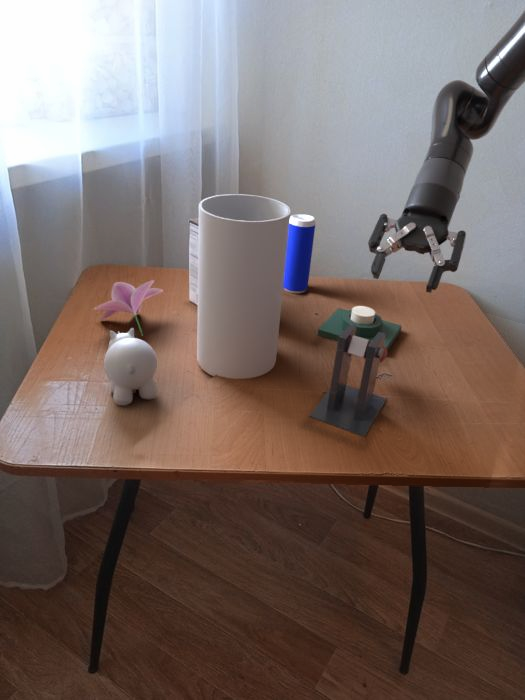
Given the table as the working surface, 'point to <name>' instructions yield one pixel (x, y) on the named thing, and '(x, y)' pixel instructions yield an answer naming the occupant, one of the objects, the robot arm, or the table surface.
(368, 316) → the button
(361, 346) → the tap lever
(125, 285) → the lily
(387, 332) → the button box
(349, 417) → the grey lever stand
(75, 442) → the table surface
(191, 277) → the coffee box
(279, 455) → the table surface
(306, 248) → the beverage can
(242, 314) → the cylinder vase
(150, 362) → the chubby cartoon animal
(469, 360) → the table surface
